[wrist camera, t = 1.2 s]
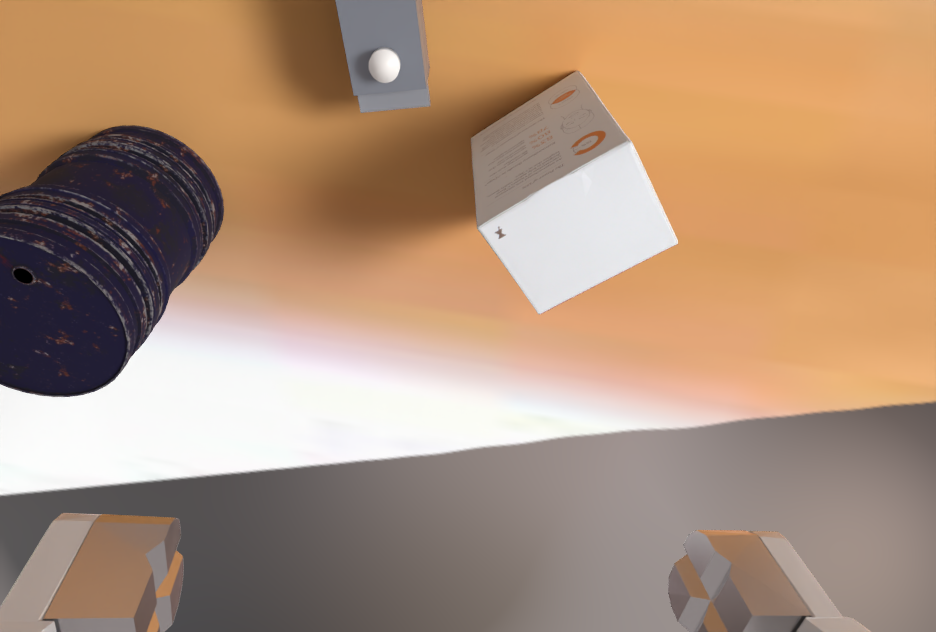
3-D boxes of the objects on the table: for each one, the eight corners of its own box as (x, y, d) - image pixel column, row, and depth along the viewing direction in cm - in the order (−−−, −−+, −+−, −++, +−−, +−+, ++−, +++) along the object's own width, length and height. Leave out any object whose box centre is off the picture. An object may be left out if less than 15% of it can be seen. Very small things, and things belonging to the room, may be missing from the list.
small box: (516, 212, 43) (536, 319, 32) (468, 136, 39) (472, 227, 29) (622, 151, 40) (682, 245, 29) (579, 66, 37) (629, 136, 26)
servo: (410, -96, 32) (402, -94, 27) (432, 87, 38) (428, 116, 33) (336, -88, 32) (315, -84, 28) (368, 94, 38) (356, 123, 33)
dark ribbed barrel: (213, 276, 45) (122, 419, 33) (71, 231, 43) (-83, 367, 31) (237, 156, 40) (140, 273, 28) (77, 98, 38) (-106, 198, 25)
